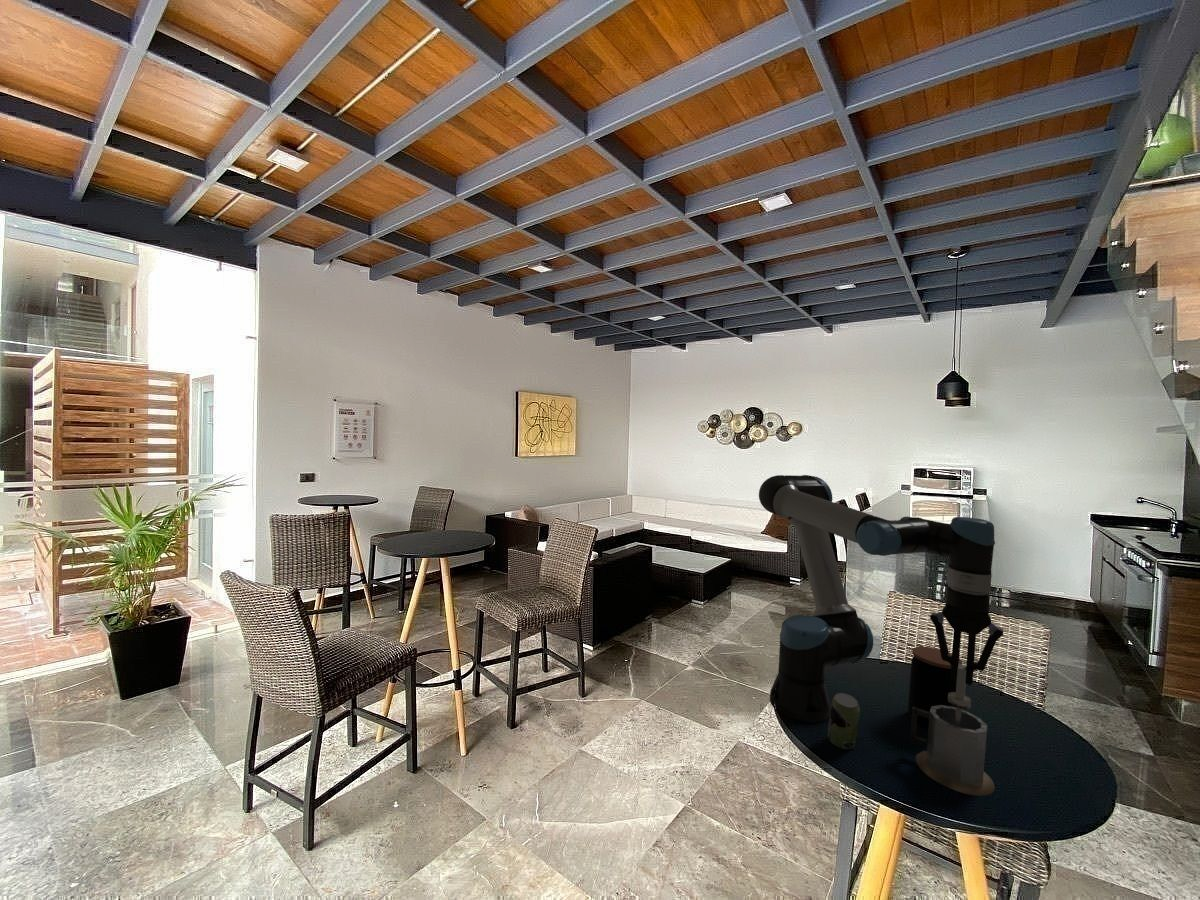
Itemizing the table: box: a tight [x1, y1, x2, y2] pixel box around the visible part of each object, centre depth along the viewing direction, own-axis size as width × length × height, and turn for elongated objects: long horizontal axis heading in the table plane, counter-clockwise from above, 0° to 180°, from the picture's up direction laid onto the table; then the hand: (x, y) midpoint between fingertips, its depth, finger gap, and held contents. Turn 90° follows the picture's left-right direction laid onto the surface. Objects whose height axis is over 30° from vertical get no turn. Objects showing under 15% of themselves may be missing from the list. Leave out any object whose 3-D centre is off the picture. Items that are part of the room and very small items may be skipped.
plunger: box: [948, 692, 972, 727], centre depth 106 cm, size 7×7×13 cm
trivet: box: [915, 750, 995, 797], centre depth 106 cm, size 14×14×1 cm
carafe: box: [909, 705, 988, 789], centre depth 107 cm, size 13×10×12 cm
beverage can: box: [827, 692, 861, 750], centre depth 114 cm, size 6×7×12 cm
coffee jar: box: [907, 646, 963, 730], centre depth 125 cm, size 11×11×18 cm
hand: (960, 696), depth 106 cm, fingers closed
